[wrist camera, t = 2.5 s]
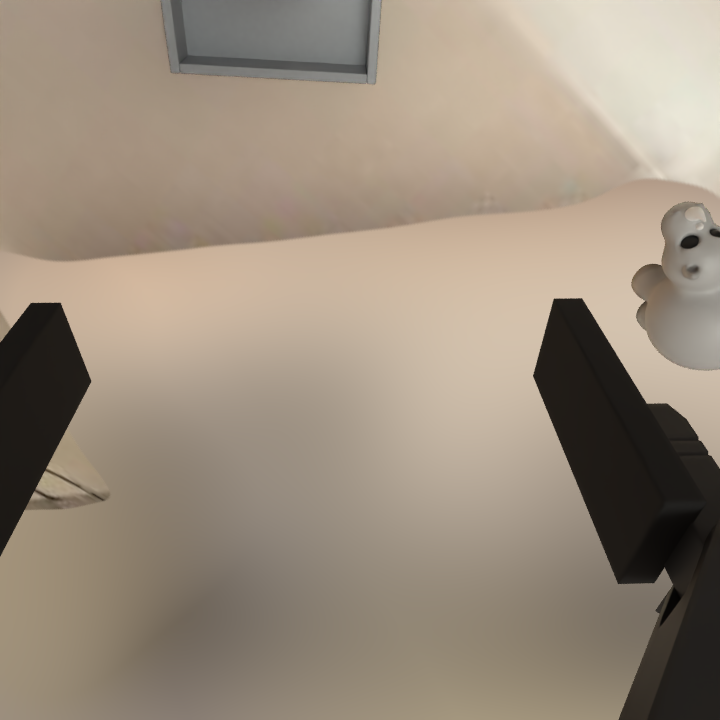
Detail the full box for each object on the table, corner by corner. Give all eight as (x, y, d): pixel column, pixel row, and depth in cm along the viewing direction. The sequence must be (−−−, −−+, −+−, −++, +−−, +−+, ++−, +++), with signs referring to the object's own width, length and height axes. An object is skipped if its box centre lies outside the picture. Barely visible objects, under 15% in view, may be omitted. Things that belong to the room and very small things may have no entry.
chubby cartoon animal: (724, 155, 36) (810, 211, 29) (723, 302, 43) (793, 373, 36) (608, 197, 37) (665, 259, 31) (626, 331, 44) (675, 405, 38)
